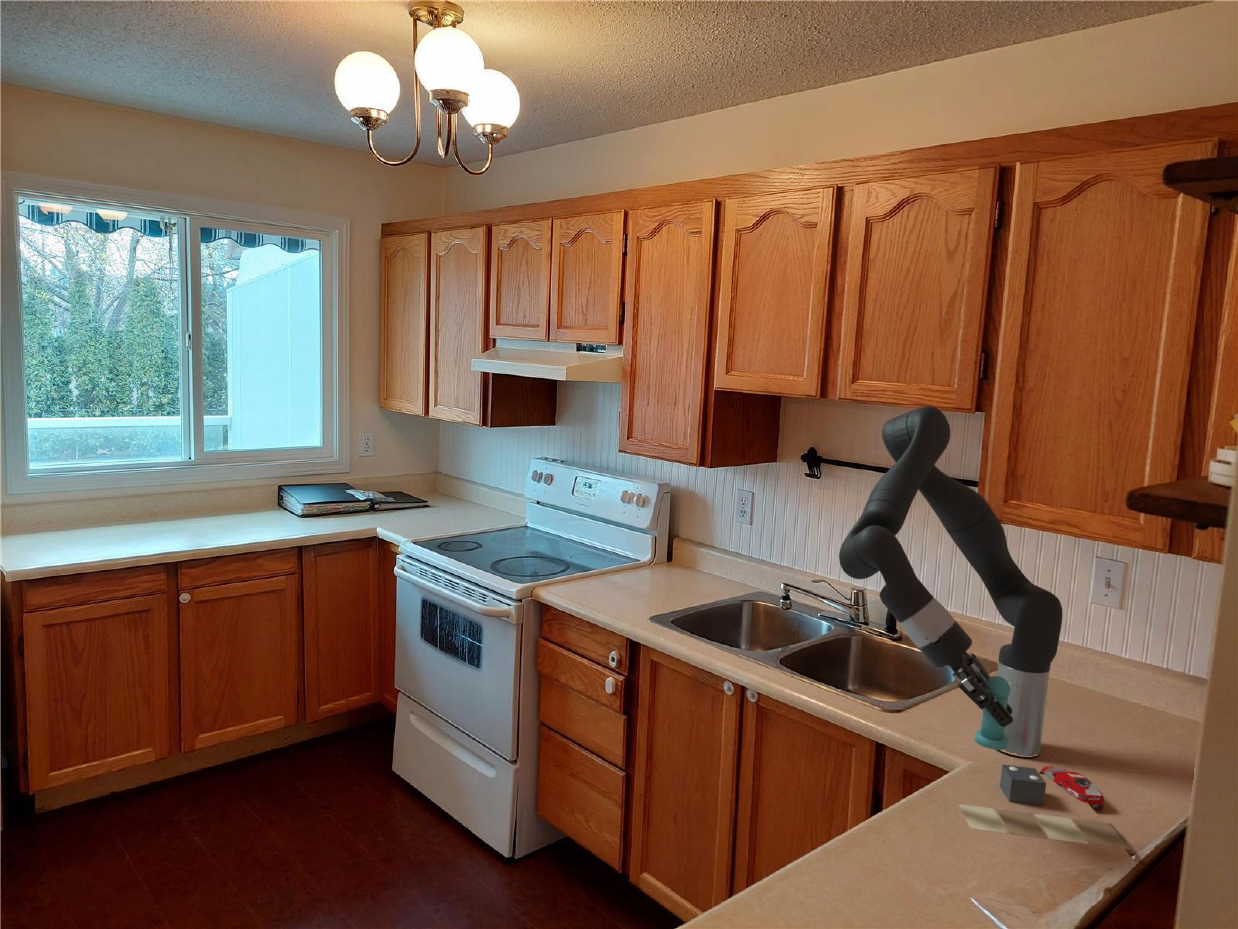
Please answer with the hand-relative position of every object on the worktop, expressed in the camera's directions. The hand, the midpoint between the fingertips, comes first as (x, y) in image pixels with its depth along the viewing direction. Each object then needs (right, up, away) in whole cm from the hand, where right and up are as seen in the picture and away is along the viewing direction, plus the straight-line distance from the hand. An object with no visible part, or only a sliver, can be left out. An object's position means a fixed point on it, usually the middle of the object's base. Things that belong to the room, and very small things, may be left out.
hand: (1007, 719), depth 135 cm
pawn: (-2, -4, +1) cm, 5 cm away
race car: (+19, -19, +17) cm, 31 cm away
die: (+7, -18, +11) cm, 23 cm away
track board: (+6, -19, +2) cm, 20 cm away
